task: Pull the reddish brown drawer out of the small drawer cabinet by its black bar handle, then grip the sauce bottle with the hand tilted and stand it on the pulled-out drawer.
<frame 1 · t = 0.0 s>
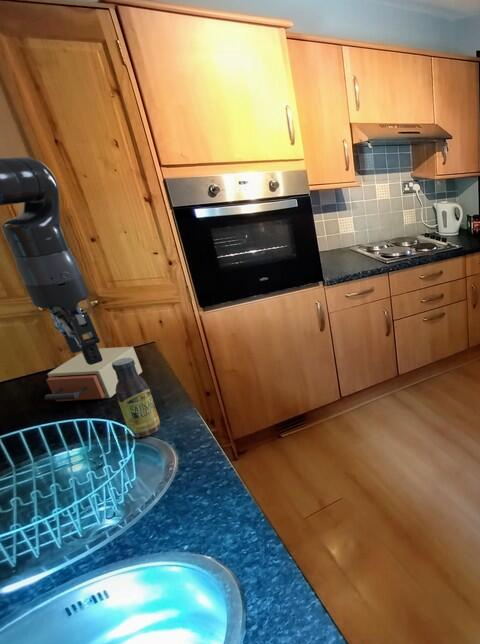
hand: (87, 356, 87), 30 cm above the worktop, tool pointing down, fingers open, 8 cm apart
drawer cabinet: (103, 385, 133), on the worktop
sauce bottle: (147, 431, 113), on the worktop
reddish brown drawer: (86, 381, 127), point 4 cm above the worktop, slide at 0.5 cm
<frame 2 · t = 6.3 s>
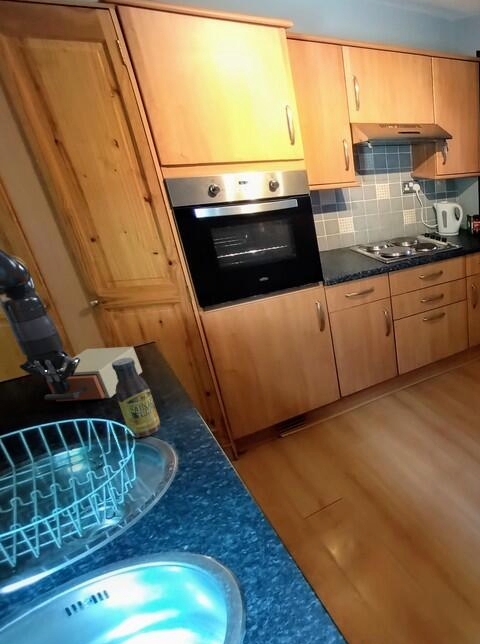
hand: (64, 392, 120), 6 cm above the worktop, tool pointing down, fingers closed
reddish brown drawer: (86, 381, 127), point 4 cm above the worktop, slide at 0.5 cm, touching gripper
everything else where it was.
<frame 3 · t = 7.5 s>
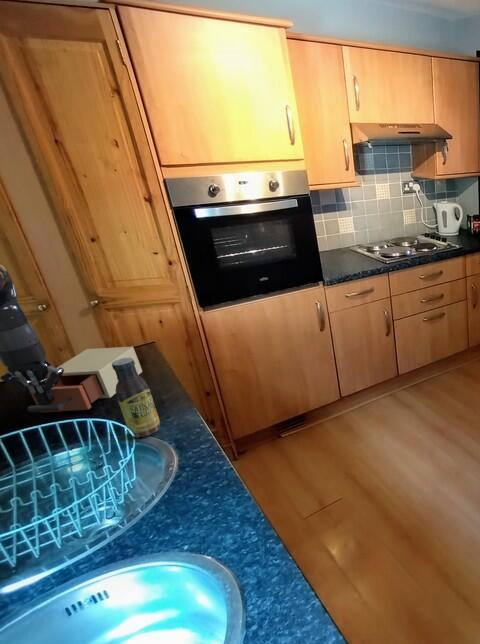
hand: (48, 403, 115), 6 cm above the worktop, tool pointing down, fingers closed
reddish brown drawer: (71, 391, 122), point 4 cm above the worktop, slide at 5.8 cm, touching gripper
everything else where it was.
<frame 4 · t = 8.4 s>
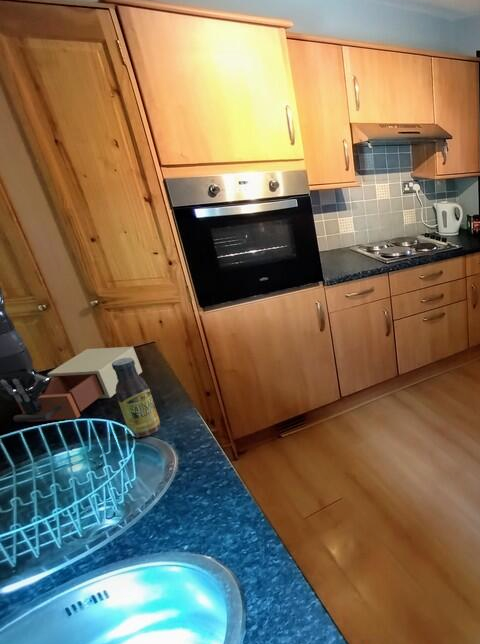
hand: (35, 412, 111), 5 cm above the worktop, tool pointing down, fingers closed
reddish brown drawer: (60, 399, 118), point 4 cm above the worktop, slide at 9.8 cm, touching gripper
everything else where it was.
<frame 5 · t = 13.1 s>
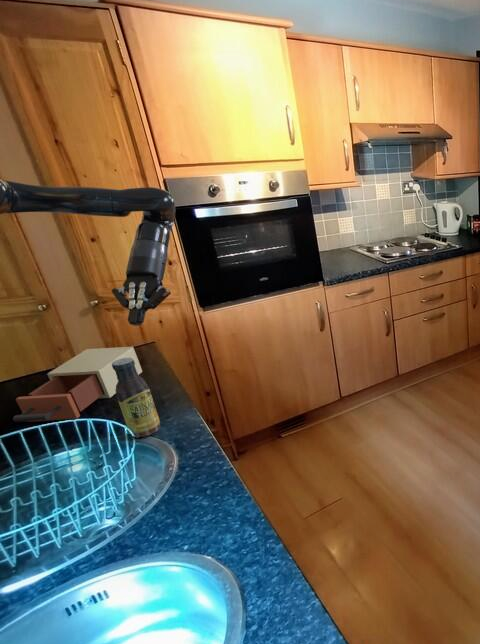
hand: (135, 324, 111), 26 cm above the worktop, tool tilted 40°, fingers closed
reddish brown drawer: (60, 399, 118), point 4 cm above the worktop, slide at 9.8 cm
everything else where it was.
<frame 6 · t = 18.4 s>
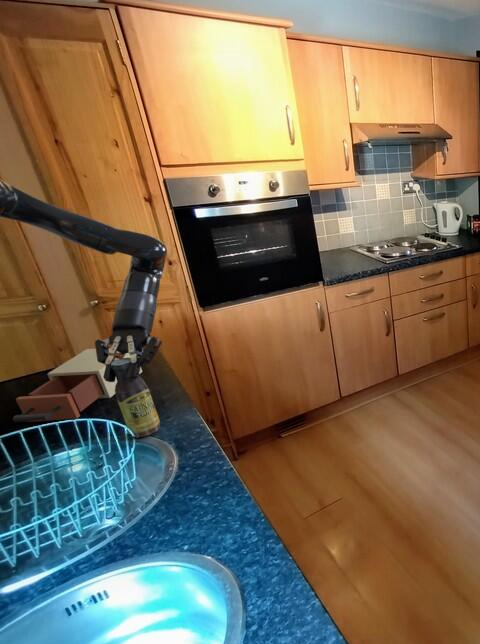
hand: (120, 380, 105), 16 cm above the worktop, tool tilted 45°, fingers closed on sauce bottle, 4 cm apart
sauce bottle: (147, 431, 113), on the worktop, touching gripper
everything else where it was.
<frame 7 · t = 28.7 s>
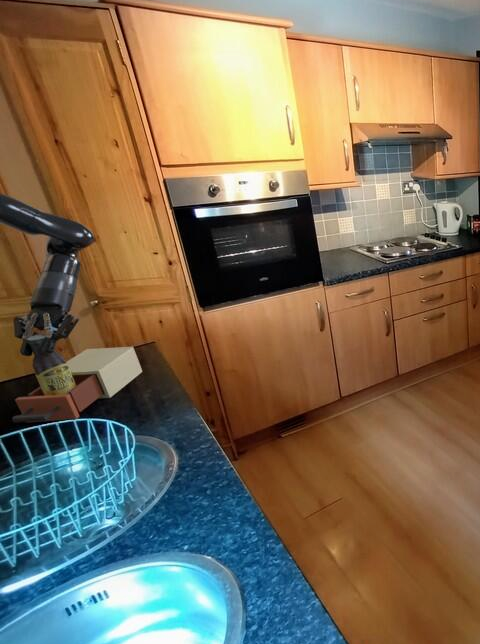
hand: (36, 354, 112), 18 cm above the worktop, tool tilted 45°, fingers closed on sauce bottle, 4 cm apart
sauce bottle: (67, 404, 121), point 2 cm above the worktop, touching gripper, reddish brown drawer
reddish brown drawer: (59, 400, 118), point 4 cm above the worktop, slide at 10.1 cm, touching sauce bottle
when the fingers open (18 cm above the worktop, at t = 28.8 s): sauce bottle stays where it is, resting on reddish brown drawer.
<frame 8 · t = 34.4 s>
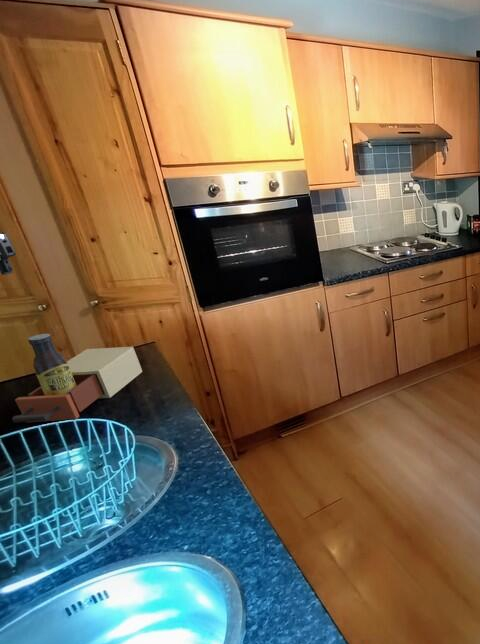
sauce bottle: (68, 404, 121), point 2 cm above the worktop, touching reddish brown drawer
everything else where it was.
at the end: reddish brown drawer slide at 10.1 cm; sauce bottle inside the target area in the reddish brown drawer (0.1 cm from its centre), point 1.9 cm above the drawer cabinet's base; sauce bottle tilted 0° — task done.
